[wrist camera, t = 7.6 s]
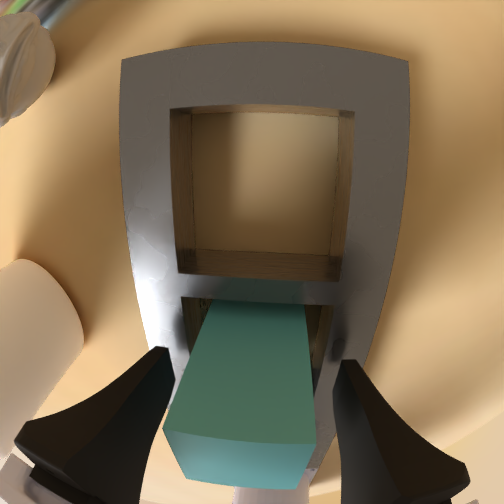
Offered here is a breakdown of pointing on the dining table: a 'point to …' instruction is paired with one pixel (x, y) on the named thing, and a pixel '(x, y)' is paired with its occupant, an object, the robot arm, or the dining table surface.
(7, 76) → the grey lumpy piece
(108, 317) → the dining table surface
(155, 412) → the robot arm
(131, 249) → the rail
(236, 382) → the square peg
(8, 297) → the beverage can
